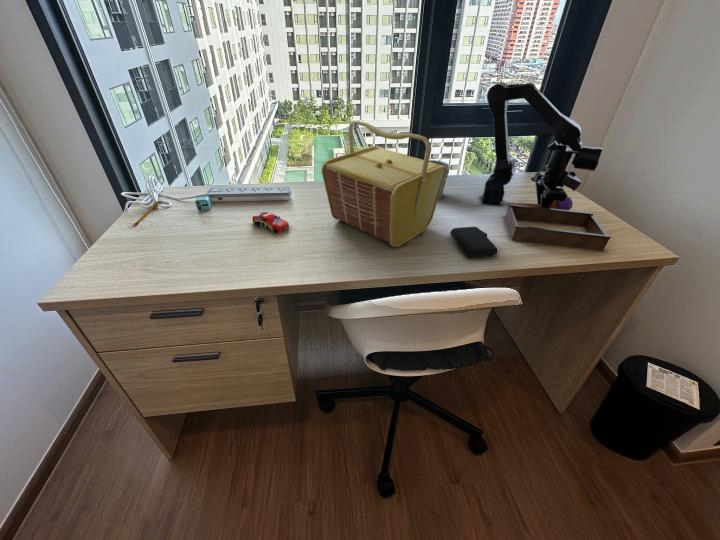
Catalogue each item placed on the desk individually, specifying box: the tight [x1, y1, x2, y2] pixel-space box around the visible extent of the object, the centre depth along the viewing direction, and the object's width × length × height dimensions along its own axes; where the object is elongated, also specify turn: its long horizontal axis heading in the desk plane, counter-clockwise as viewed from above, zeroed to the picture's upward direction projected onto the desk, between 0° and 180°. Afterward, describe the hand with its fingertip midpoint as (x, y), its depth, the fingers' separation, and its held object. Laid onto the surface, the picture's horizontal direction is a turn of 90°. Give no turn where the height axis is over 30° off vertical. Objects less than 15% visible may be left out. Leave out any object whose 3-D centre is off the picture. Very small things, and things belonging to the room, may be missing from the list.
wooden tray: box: [504, 203, 612, 252], centre depth 104 cm, size 26×16×5 cm, turn 78°
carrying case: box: [450, 226, 498, 259], centre depth 97 cm, size 11×3×15 cm
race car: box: [252, 211, 290, 234], centre depth 104 cm, size 13×5×4 cm, turn 57°
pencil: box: [132, 200, 160, 228], centre depth 112 cm, size 19×1×1 cm, turn 3°
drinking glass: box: [429, 159, 451, 200], centre depth 124 cm, size 10×10×12 cm
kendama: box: [512, 196, 574, 210], centre depth 116 cm, size 6×6×20 cm
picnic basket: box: [321, 120, 447, 248], centre depth 99 cm, size 29×26×30 cm
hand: (541, 208), depth 116 cm, fingers closed on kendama, 5 cm apart
